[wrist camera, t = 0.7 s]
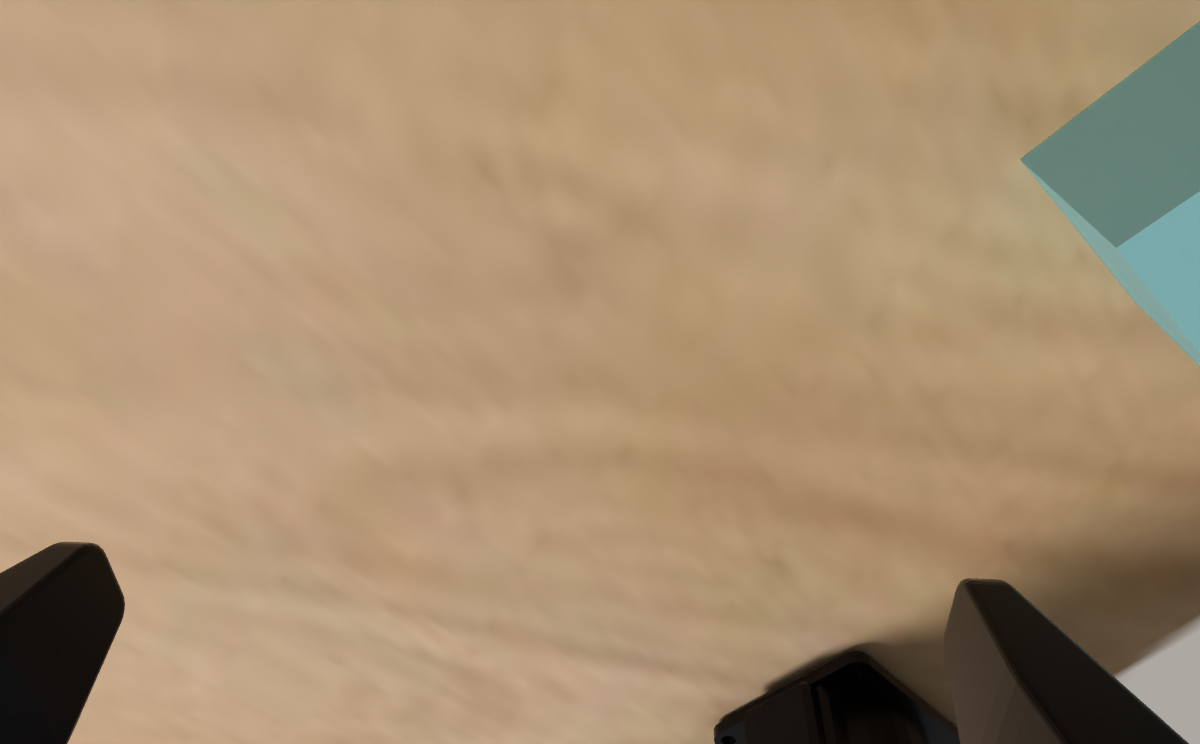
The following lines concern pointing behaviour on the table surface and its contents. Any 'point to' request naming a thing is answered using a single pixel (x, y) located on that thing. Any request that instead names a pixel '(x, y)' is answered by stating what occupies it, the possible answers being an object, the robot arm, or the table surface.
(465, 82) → the table surface
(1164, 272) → the teal block
